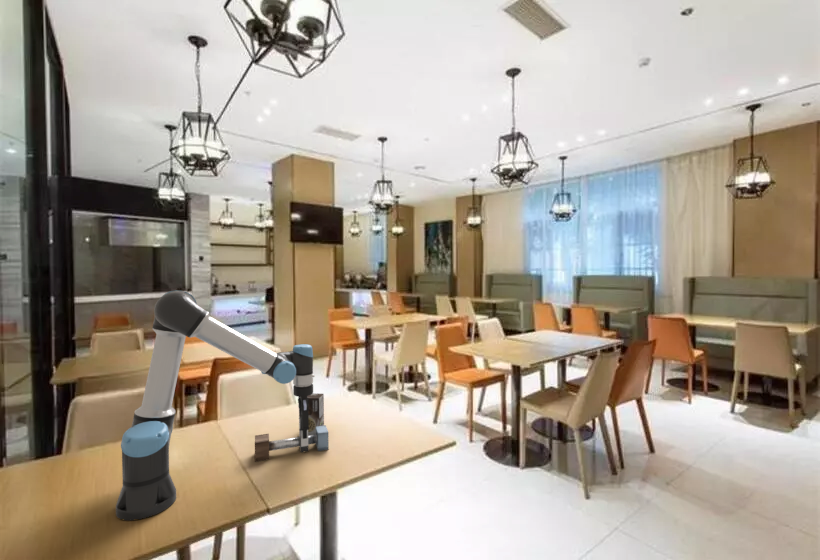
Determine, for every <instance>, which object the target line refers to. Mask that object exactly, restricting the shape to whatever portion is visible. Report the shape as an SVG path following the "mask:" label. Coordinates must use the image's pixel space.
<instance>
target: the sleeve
mask: <svg viewBox="0 0 820 560" xmlns="http://www.w3.org/2000/svg"><path fill="white" fill-rule="evenodd" d="M269 441H270V434H269V433H264V434H258V435H254V462H262V461H268V460H270V451H269Z"/></svg>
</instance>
